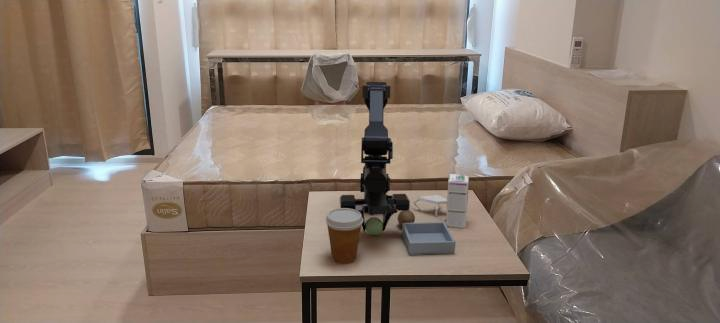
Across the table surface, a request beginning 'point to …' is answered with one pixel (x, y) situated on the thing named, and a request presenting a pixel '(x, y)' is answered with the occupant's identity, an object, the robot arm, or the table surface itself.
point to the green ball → (373, 225)
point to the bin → (428, 238)
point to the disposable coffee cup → (344, 233)
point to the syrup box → (457, 200)
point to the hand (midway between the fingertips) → (373, 230)
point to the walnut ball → (406, 217)
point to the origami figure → (432, 201)
